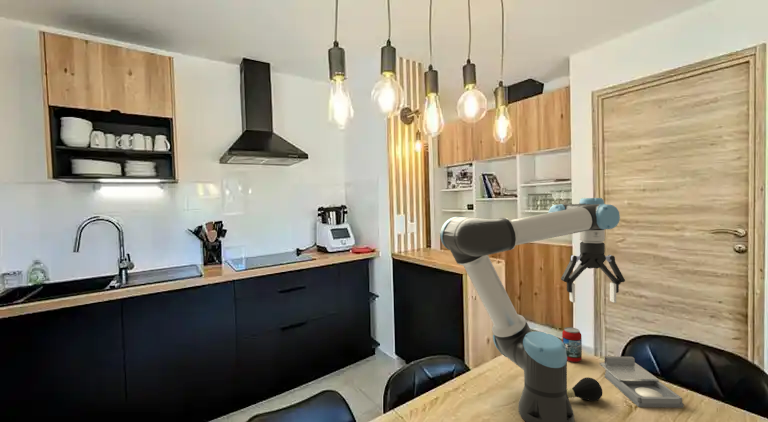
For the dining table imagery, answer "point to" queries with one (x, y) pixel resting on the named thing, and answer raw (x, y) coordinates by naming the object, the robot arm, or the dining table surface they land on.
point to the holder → (647, 393)
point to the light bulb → (586, 390)
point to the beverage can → (572, 344)
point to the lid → (627, 369)
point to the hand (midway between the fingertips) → (592, 301)
